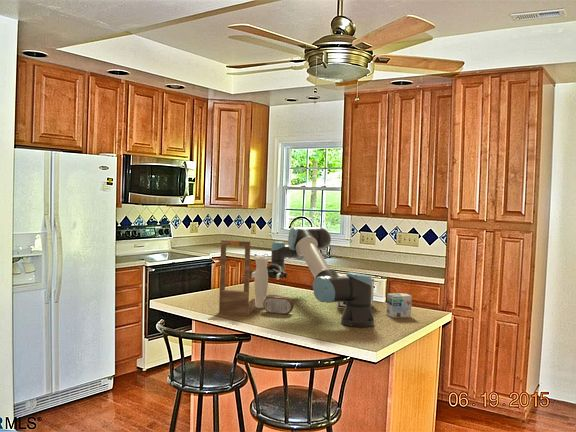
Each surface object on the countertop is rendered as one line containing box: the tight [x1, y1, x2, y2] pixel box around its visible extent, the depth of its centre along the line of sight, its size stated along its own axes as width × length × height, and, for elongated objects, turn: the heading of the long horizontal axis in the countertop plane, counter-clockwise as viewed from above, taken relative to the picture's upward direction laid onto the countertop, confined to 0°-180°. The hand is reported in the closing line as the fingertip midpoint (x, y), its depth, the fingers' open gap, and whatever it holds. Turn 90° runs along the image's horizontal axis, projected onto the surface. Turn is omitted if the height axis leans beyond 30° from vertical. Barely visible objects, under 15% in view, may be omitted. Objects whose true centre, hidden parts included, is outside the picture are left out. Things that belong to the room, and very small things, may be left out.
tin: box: [263, 295, 294, 315], centre depth 270 cm, size 15×3×8 cm, turn 74°
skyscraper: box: [253, 253, 270, 310], centre depth 282 cm, size 8×8×28 cm
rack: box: [218, 239, 256, 317], centre depth 270 cm, size 15×14×36 cm
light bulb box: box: [385, 292, 413, 318], centre depth 273 cm, size 11×7×11 cm, turn 105°
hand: (264, 276), depth 290 cm, fingers open, 13 cm apart
